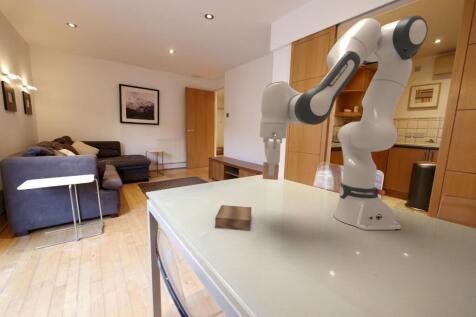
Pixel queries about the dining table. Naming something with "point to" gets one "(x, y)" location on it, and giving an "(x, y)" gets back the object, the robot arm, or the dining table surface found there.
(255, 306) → the dining table surface
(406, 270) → the dining table surface
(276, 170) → the terracotta cube
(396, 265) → the dining table surface
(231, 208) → the walnut board
